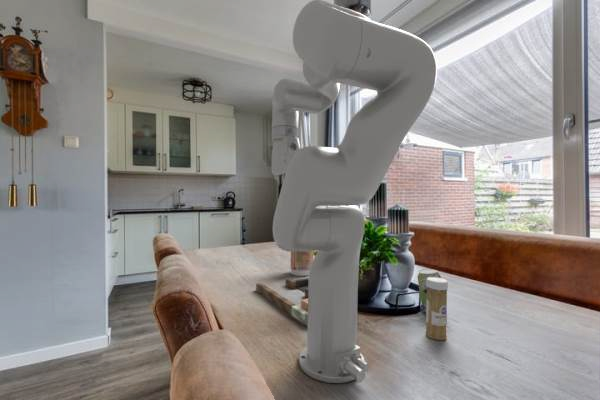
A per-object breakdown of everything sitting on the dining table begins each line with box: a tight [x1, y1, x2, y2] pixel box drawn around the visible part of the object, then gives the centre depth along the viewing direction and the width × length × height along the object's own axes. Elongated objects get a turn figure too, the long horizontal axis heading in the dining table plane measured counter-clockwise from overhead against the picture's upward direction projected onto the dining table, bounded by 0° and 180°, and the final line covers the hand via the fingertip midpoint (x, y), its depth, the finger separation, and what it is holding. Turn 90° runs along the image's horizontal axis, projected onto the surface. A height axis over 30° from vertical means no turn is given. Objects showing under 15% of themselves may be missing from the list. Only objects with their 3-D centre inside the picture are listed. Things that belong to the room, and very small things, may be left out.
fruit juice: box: [290, 251, 314, 277], centre depth 119 cm, size 9×9×28 cm
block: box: [300, 298, 308, 312], centre depth 77 cm, size 6×6×4 cm
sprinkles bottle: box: [425, 277, 449, 341], centre depth 66 cm, size 5×5×14 cm
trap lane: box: [255, 277, 309, 328], centre depth 89 cm, size 32×22×3 cm
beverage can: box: [417, 269, 442, 313], centre depth 80 cm, size 6×7×12 cm
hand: (284, 199), depth 80 cm, fingers closed
